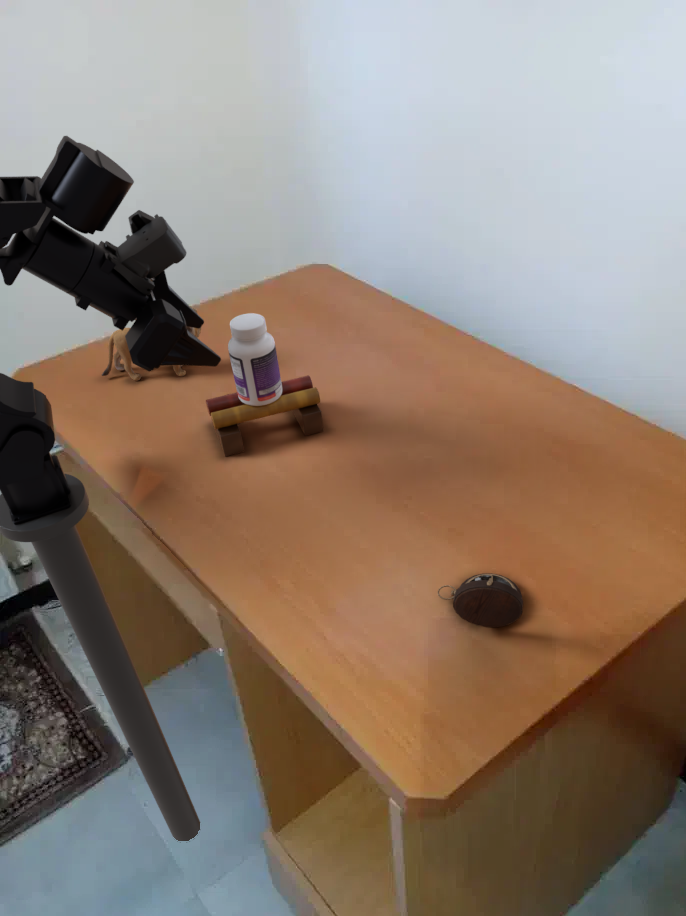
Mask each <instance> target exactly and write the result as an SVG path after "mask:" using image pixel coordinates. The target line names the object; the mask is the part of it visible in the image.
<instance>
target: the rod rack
mask: <svg viewBox="0 0 686 916" xmlns="http://www.w3.org/2000/svg"><path fill="white" fill-rule="evenodd" d="M281 382H282V394H281V396H280V397H279V398H278V399H277V400H276V401H274V402H272V403H270V404H267V405H262V406H251V405H247V404H245V403H243V402H242V401H241V400H240V399H239V397H238V394H237V391H236V392H233V393H229V394H224V395H220V396H215V397H213V398H207V399H205V405H206V409H207V412H208V415H209V417H210V418H211V423H212V427H213V429H214V432H215V434H216V437H217V439H218V443H219V444H220V447H221V449H222V453H223V455H224V457H225V458H226V457H229V456H233V455H238V454H241V453H244V452H245V447H244V441H243V437H242V431H241V430H240V427H239V425H238V424H242V423H246V422H250V421H254V420H259V419H263V418H266V417H271V416H275V415H279V414H283V413H286V412H290V411H291V412H292V414H293V416H294V418H295V420H296V422H297V423H298V426H299V427H300V429H301V431H302V433H303V435H304V436H305V437H307V436H310V435H315V434H318V433H323V432H324V430H325V429H324V422H323V415H322V410H321V408H320V406H319V404H321V396H320V392H319V390H318V387H315V386H314V385H313V380H312V378H311V376H310V374H308V375H304V376H299V377H295V378H291V379H287V380H281ZM313 386H314V387H313Z"/></svg>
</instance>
